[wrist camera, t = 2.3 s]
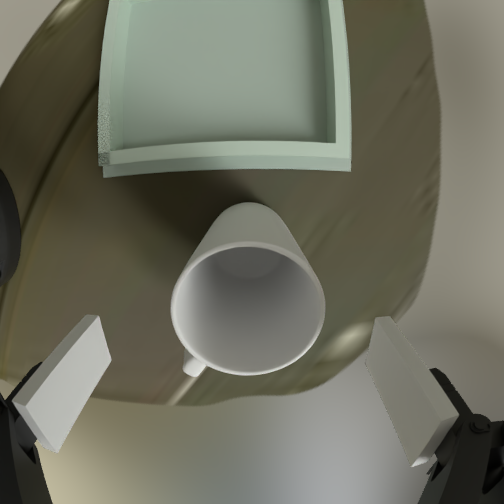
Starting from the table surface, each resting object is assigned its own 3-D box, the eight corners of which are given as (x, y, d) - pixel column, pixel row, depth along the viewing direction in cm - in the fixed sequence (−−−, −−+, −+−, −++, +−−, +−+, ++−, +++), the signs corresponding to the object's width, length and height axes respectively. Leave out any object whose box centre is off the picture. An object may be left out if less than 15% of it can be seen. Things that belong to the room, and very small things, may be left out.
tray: (105, 177, 22) (88, 180, 19) (116, -4, 16) (103, -17, 14) (349, 171, 22) (362, 173, 19) (338, -16, 16) (347, -32, 14)
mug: (240, 180, 22) (229, 206, 11) (307, 231, 24) (356, 300, 12) (171, 277, 25) (120, 366, 13) (234, 319, 26) (226, 423, 15)
